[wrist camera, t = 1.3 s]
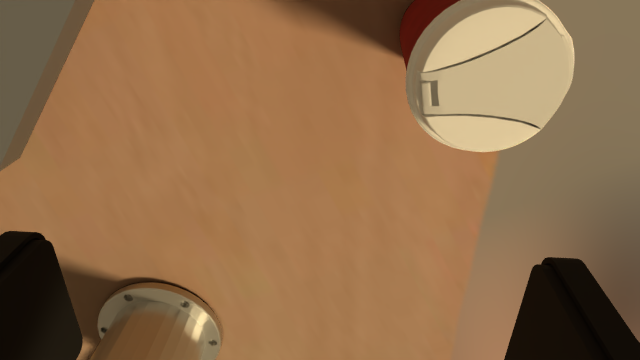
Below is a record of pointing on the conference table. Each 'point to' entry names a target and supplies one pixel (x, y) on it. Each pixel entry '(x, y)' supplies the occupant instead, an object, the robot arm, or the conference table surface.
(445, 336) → the conference table surface
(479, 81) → the paper cup
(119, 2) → the conference table surface
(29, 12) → the socket plate
